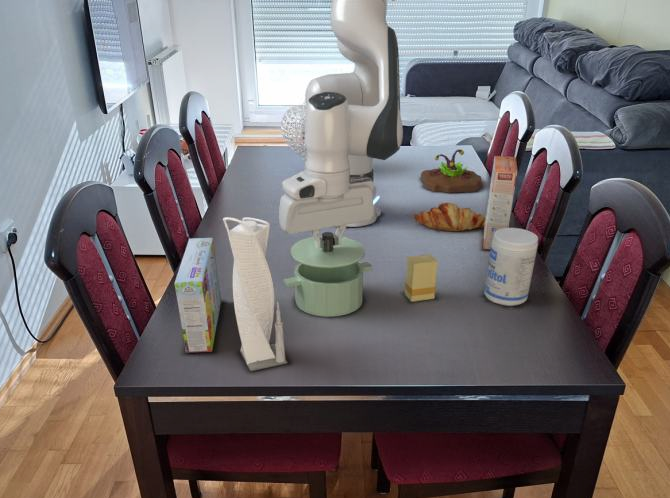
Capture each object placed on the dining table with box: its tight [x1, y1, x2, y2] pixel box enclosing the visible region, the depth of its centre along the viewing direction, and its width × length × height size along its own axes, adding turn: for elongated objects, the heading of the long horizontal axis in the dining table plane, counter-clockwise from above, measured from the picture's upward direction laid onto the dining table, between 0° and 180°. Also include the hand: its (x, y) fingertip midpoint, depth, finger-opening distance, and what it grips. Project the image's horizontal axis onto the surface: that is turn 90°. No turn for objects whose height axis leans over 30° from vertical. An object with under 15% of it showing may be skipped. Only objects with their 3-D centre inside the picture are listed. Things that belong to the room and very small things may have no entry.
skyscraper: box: [222, 216, 288, 372], centre depth 115 cm, size 8×8×28 cm
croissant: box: [413, 202, 486, 232], centre depth 180 cm, size 21×10×8 cm
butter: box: [404, 253, 439, 303], centre depth 142 cm, size 4×6×9 cm
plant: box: [420, 149, 483, 194], centre depth 212 cm, size 20×20×11 cm
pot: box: [283, 261, 373, 318], centre depth 140 cm, size 15×20×8 cm
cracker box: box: [482, 155, 518, 251], centre depth 167 cm, size 14×6×21 cm, turn 168°
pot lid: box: [290, 231, 366, 268], centre depth 136 cm, size 16×16×5 cm
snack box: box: [173, 237, 222, 354], centre depth 128 cm, size 21×6×15 cm, turn 5°
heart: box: [280, 104, 307, 162], centre depth 218 cm, size 28×16×22 cm, turn 89°
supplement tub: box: [483, 227, 539, 307], centre depth 141 cm, size 10×10×15 cm
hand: (327, 245), depth 136 cm, fingers closed on pot lid, 2 cm apart
